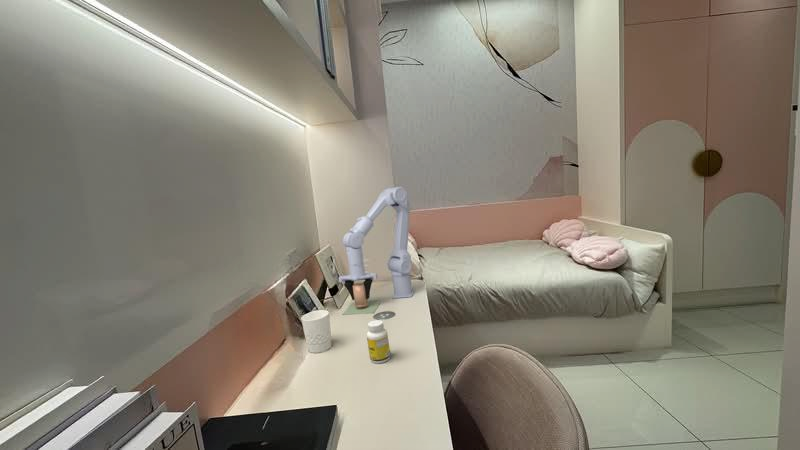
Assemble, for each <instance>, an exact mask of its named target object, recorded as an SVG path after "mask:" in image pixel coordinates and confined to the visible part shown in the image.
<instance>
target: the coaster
mask: <svg viewBox="0 0 800 450" xmlns="http://www.w3.org/2000/svg"><path fill="white" fill-rule="evenodd" d="M395 316H396V312H395V311H391V310H388V311H387V310H386V311H380V312H377V313H375V314H373V315H372V318H373V319H374V320H381V321H386V320H390V319H392V318H393V317H395Z"/></svg>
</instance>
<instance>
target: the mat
mask: <svg viewBox="0 0 800 450" xmlns="http://www.w3.org/2000/svg"><path fill="white" fill-rule="evenodd" d="M368 303H369V304H368V305H367V306H365V307H355V302H352V303H350V304H349V306H348V307H347V308H346V309H345V311H343V312H342V316H350V315H363V314H364V315H366V314H374V313H375V312H376V310H377V309H378V307H379V306H380V304H381V300H378V301H368Z"/></svg>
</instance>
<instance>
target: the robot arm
mask: <svg viewBox="0 0 800 450" xmlns="http://www.w3.org/2000/svg"><path fill="white" fill-rule="evenodd" d="M388 206H390V207H392V209H394V210H395V212H396V215H395V217H396V219H395V229H394V231H395V232H394V244H393V250H392V251H391V252H390V255H389V258H388V260H387V268H388V270H389V271H390V273H391V278H392V285H393V286H392V287H393V294H392V299H401V298H402V299H403V298H412V297H413V295H414V292H415V288H413V287H412V278H411V271H412V268H413V263H412V260H411V259H412V255H411V254H410V252H409V251H408V246H409V245H408V244H409V234H410V233H409V231H410V220H411V219H410V217H411V205H410V201H409V192H407V190H406V189H405V188H404V187H402V186H396V187H387V188H385V189H384V190H382V192H381V193H380V194H378V197H377V199H376V201H375V202H374V203H373V205H372V207H371V208H370V209H369V210H368V212H367V214H366V215H364V216H361V217H357V219H356V220H357V222H355V224H354V225H353V227H351V228H350V229H349V232H347V233H345V234H344V236H343V240H342V244H343V246H344V247H345V248H346V249H345V250H346V256H347V263H348V264H347V265H348V270H349V274H348V275H340V276H339V277H338V283H343V282H344V284H343V285H344V287H345V288H346V290H347V291H348V293H349V295H350V297H351V300H352V301H354V294H353V287H352V285H353V284H355V282H356V281H363V282H362V283H364V287H365V291H366V299H368V300H369V299H370V295H371V294H370V293H371V287H372V283H373V281H375V280H378V273H377V272H375V273H374V272H373V273H372V272H371V273H370V272H369V273H368V272H366V269H365V263H364V257H363V256H364V255H363V248H362V246H363V244H364V241H365V240H364V239H365V238H366V236H367V235H368V234H369V232H370V231H371V230H372V228H374V221H375V219H376V218H377V217H378V216H380V214H381V213H382V211H383V210H384V209H385V208H386V207H388Z"/></svg>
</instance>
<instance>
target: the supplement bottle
mask: <svg viewBox="0 0 800 450" xmlns="http://www.w3.org/2000/svg"><path fill="white" fill-rule="evenodd" d="M384 326H385V325H384V320H376V319H374V320H372V321H371V320H370V321H369V322H368V323H367V329H368V332H367V333H366V341H367V345H368V346H367V347H368V348H367V349H368V353H369V360H370V361H371V362H372V363H373V364H383V363H386V362H388V361H390V359H391V349H390V343H389V334H388V331H387V329H386V328H385V327H384Z"/></svg>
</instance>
